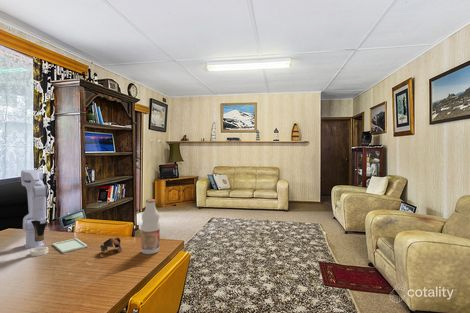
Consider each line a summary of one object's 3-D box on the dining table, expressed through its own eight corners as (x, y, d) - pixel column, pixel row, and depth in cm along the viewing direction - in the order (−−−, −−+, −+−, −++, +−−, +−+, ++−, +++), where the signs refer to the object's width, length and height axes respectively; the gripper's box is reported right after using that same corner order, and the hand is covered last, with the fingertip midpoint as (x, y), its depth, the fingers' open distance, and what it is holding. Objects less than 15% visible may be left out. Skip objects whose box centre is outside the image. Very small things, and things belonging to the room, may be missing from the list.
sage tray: (52, 245, 146) (52, 243, 146) (76, 240, 155) (76, 238, 155) (62, 254, 135) (62, 251, 135) (87, 248, 144) (87, 245, 144)
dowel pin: (33, 240, 134) (33, 225, 134) (43, 238, 137) (43, 223, 137) (35, 242, 132) (35, 226, 131) (45, 240, 135) (45, 224, 134)
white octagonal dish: (29, 254, 134) (29, 249, 134) (45, 250, 140) (45, 245, 140) (32, 258, 129) (32, 253, 129) (49, 254, 135) (49, 249, 135)
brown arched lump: (118, 256, 134) (109, 243, 132) (103, 262, 136) (94, 250, 134) (128, 242, 146) (120, 230, 144) (114, 248, 147) (106, 237, 145)
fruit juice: (137, 251, 139) (138, 199, 139) (153, 246, 146) (153, 197, 146) (147, 256, 133) (147, 202, 133) (163, 251, 140) (163, 199, 140)
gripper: (26, 207, 136) (26, 233, 136) (33, 212, 126) (33, 239, 127) (42, 205, 141) (42, 230, 141) (50, 209, 132) (50, 236, 132)
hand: (39, 234), depth 134 cm, fingers closed on dowel pin, 4 cm apart
